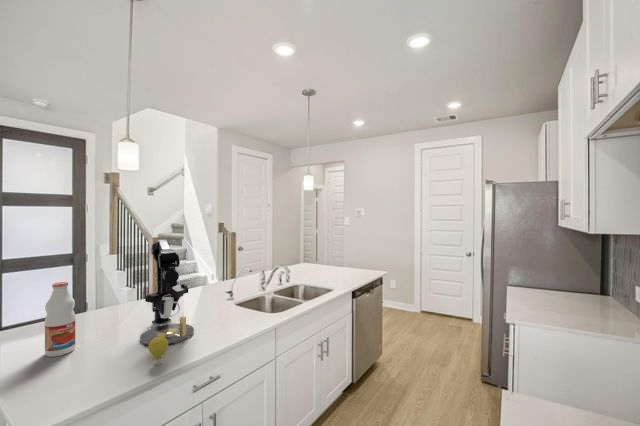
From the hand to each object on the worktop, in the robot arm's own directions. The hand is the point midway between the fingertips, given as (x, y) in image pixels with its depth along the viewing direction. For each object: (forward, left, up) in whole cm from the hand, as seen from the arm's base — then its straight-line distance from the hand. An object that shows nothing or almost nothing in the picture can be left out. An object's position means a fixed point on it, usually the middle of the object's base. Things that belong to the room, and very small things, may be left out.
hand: (167, 312), depth 138 cm
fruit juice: (-26, -29, -11) cm, 40 cm away
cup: (0, 0, -2) cm, 2 cm away
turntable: (0, 0, -11) cm, 11 cm away
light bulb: (+18, -19, -11) cm, 28 cm away
